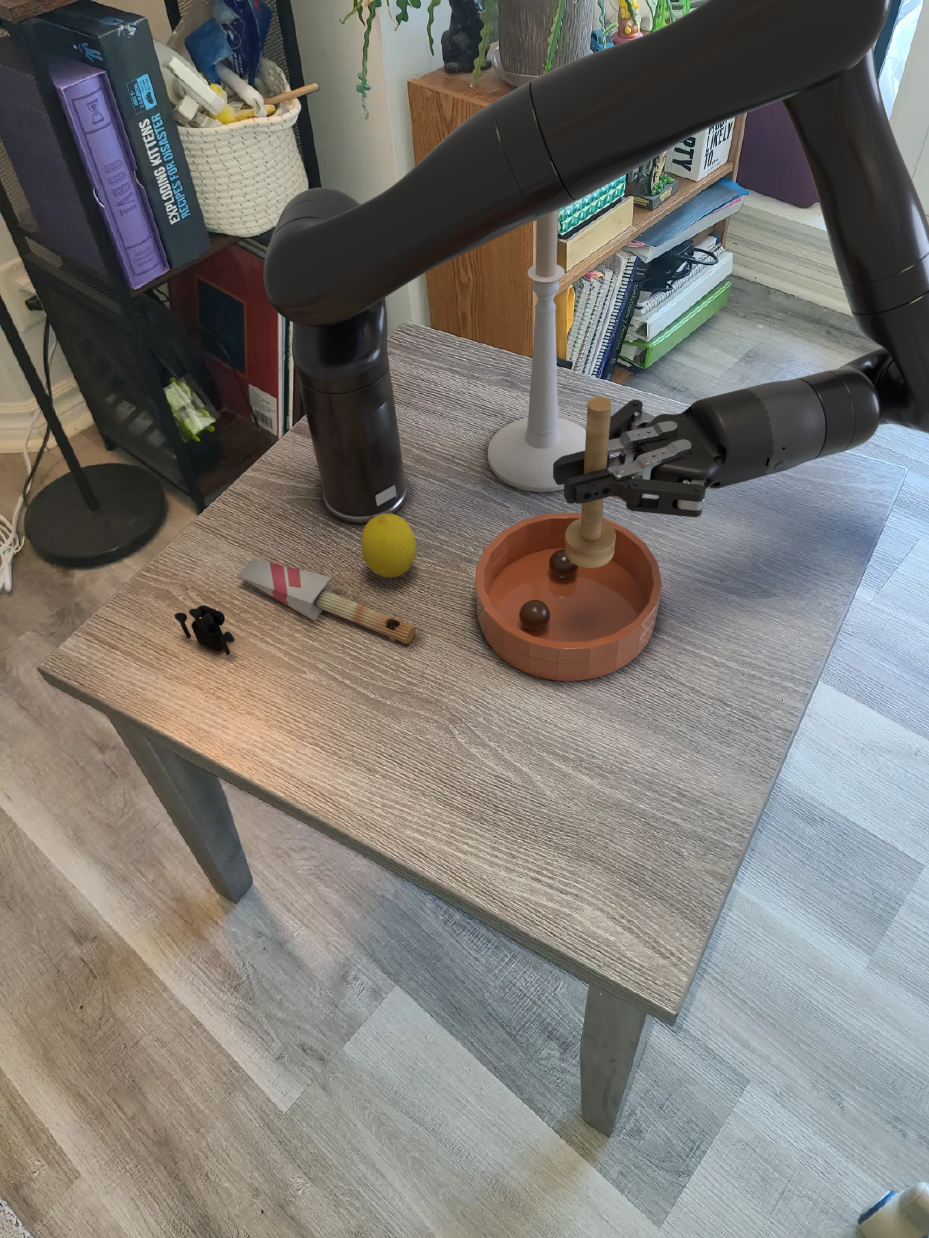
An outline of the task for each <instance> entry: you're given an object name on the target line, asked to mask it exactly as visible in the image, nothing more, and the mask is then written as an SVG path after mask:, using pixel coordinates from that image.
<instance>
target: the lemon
mask: <svg viewBox="0 0 929 1238" xmlns="http://www.w3.org/2000/svg"><path fill="white" fill-rule="evenodd" d="M360 543H361V544H360V545H361V546H360V548H361V554H362V557H363V560H364V563H366V565H367V566H368V568H369V569H370V570H371V571H372V572H374V573H375V574H376V575H378V576H381V577H384V578H396V577H399V576H401V575H404V574H405V573H407V572H408V571H409V569H411V567H412V566H413V564H414V562H415V559H416V553H417V541H416V537H415V533H414V531H413V529H412V527H411V526H410V525H409V523H408V522H407V521H406V520H405V519H404V518H402V517H401V516H399V515H397V514H395V513H393V514H381V515H377V516H375V517H374V518H372V519H371V520H370V521H369V522H368V523H366V524H365V526H364V527H363V531H362V534H361V541H360Z"/></svg>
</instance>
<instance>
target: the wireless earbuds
mask: <svg viewBox="0 0 929 1238" xmlns="http://www.w3.org/2000/svg"><path fill="white" fill-rule="evenodd" d="M188 613H189V615H190V616H191V618H193V619H194V620H193V621H192V623H191V625H190V627H191V630H192V632H193V634H194V636H195V638H196V641H197V642H198V644H199V645H201V646H203V647H205V648H207V649H210V650H212V651H214V652H222V651H224V653H225V655H226V656H230V655H231V651H230V648H229V646H228V643H230V644H231V643H234V642H235V637H234V635H233V634H232V633H231V632H230V631H229V630H228V631H227V630H226V632H224V633H223V630H222V628H221V626H223V624H224V623H225V621H226V616H225V614H224V613H223V612H222V611H220V610H217V609H215V608H213V607H211V606H208V605H199V606H198V607H197V608H196V607H195V608H190V609H189V610H188ZM174 618H175V620H176V621H177V622H179V624H180V626H181V629H182V631H183V633H184V636H185V637H186V639H188V640H189V639H191V638H192V635H191V633H190V631H189V628H188V626H187V624H186V621H187V619H188V615H187V614H186V613H185V612H176V613H175V614H174Z"/></svg>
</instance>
